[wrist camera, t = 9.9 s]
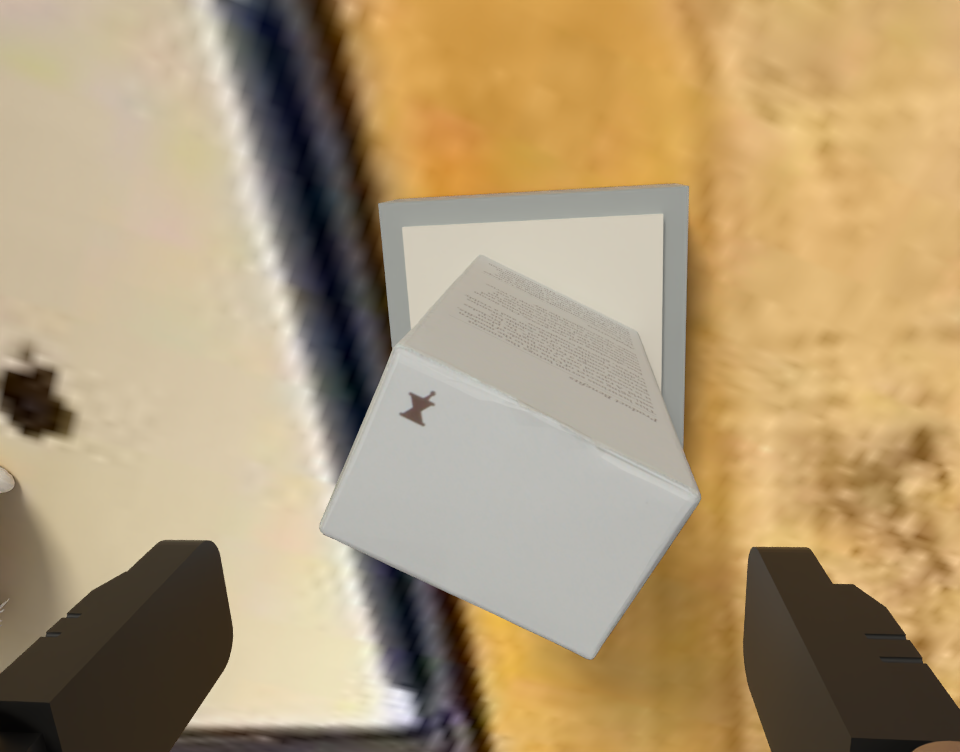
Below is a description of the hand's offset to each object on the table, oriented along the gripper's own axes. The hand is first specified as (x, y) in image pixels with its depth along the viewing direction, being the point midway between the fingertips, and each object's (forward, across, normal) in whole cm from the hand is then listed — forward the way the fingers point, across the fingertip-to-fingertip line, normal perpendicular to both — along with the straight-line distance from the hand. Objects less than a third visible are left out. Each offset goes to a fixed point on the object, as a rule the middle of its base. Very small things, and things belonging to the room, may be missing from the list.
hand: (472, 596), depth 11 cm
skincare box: (+14, 0, 0) cm, 14 cm away
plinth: (+18, 0, 0) cm, 18 cm away
